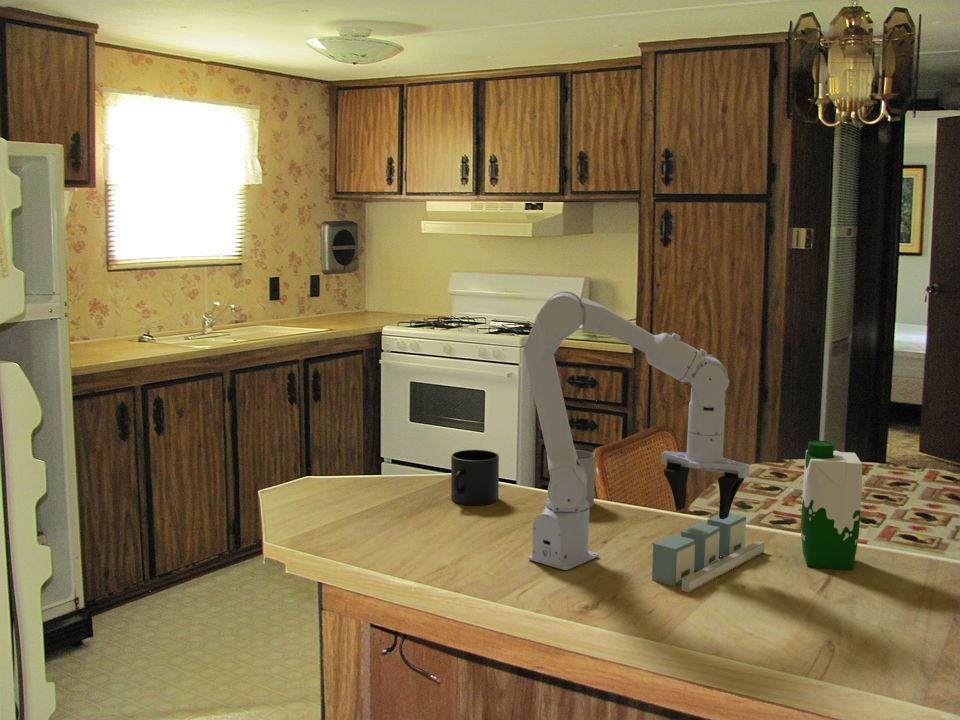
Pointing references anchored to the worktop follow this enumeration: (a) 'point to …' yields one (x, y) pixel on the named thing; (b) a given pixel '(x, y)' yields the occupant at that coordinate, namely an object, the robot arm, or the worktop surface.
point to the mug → (474, 477)
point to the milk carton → (830, 506)
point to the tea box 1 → (673, 559)
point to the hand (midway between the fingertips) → (701, 513)
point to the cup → (588, 472)
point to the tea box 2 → (704, 543)
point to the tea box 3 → (730, 533)
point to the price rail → (722, 566)
